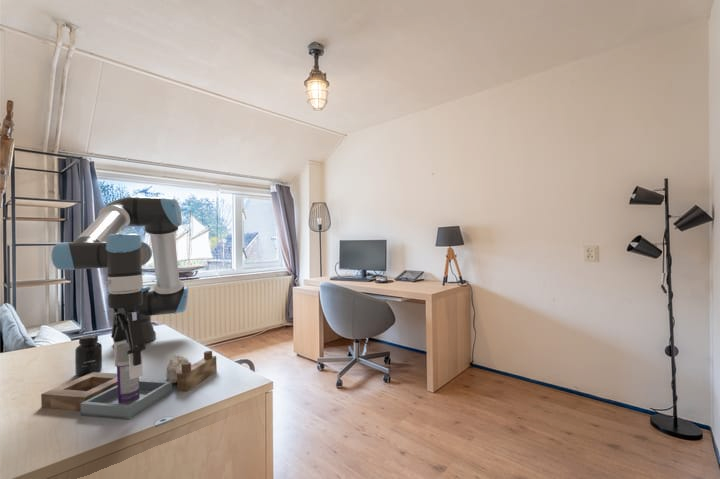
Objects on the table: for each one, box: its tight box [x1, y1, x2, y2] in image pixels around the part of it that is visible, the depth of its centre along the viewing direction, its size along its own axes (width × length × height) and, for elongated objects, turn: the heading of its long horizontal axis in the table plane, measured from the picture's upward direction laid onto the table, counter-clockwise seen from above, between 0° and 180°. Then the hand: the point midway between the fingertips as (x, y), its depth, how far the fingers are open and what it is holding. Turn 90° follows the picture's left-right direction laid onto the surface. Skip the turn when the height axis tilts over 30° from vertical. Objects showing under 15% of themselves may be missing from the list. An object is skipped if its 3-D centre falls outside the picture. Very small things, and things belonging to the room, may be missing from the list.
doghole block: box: [40, 371, 118, 411], centre depth 92 cm, size 14×14×4 cm
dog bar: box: [176, 350, 218, 392], centre depth 100 cm, size 14×3×7 cm, turn 170°
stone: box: [166, 354, 190, 384], centre depth 102 cm, size 8×12×10 cm, turn 29°
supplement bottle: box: [74, 334, 103, 377], centre depth 108 cm, size 7×7×12 cm
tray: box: [80, 379, 173, 420], centre depth 87 cm, size 14×14×3 cm
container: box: [116, 343, 140, 405], centre depth 87 cm, size 5×5×15 cm
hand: (128, 370), depth 87 cm, fingers open, 13 cm apart
